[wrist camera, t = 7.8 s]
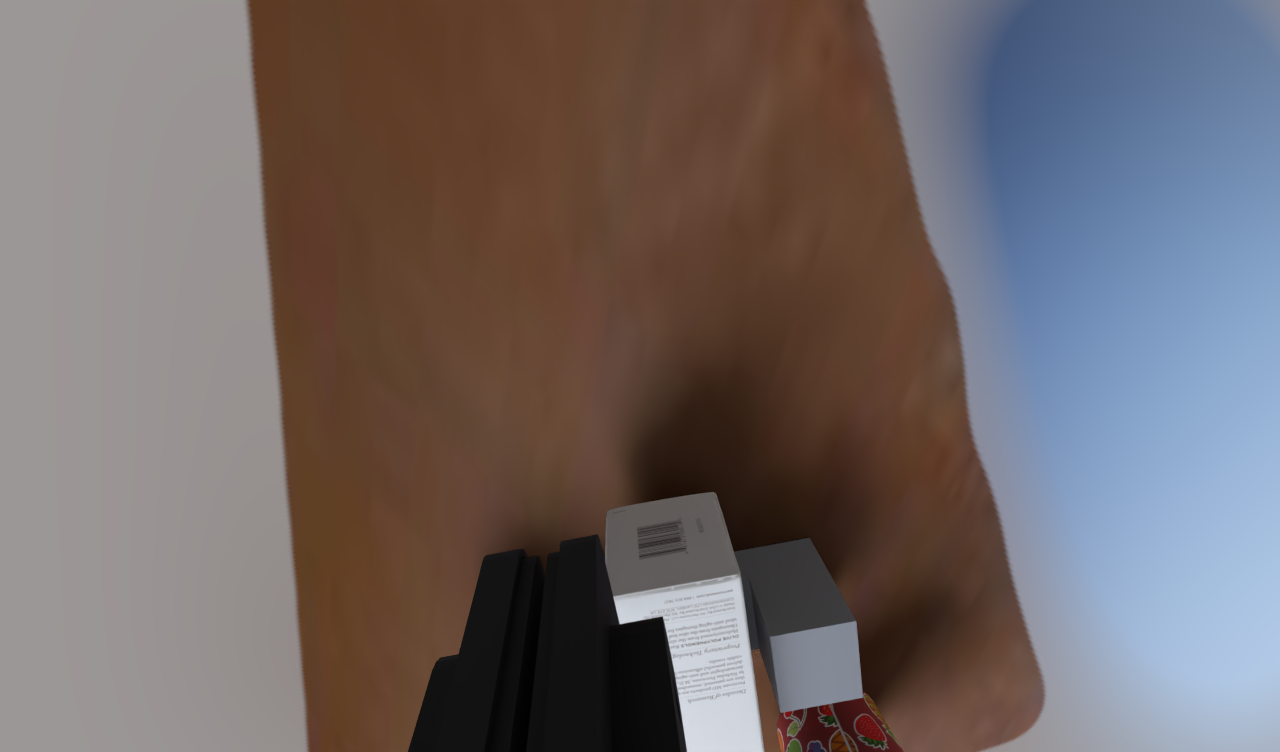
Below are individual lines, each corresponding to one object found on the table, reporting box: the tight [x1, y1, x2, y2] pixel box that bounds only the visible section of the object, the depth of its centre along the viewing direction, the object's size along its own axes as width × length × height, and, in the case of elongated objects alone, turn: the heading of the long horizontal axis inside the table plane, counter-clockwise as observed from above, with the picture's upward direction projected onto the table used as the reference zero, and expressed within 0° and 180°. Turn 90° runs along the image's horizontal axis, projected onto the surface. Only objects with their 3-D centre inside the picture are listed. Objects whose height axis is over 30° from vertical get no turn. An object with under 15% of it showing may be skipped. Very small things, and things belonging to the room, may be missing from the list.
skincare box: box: [605, 492, 764, 752], centre depth 36 cm, size 8×7×16 cm
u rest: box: [734, 538, 863, 713], centre depth 39 cm, size 5×21×8 cm, turn 100°
